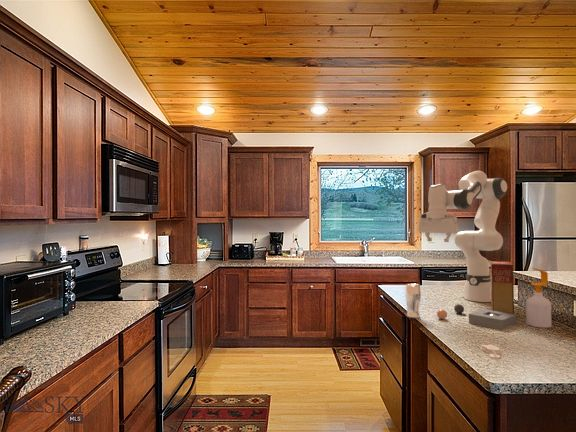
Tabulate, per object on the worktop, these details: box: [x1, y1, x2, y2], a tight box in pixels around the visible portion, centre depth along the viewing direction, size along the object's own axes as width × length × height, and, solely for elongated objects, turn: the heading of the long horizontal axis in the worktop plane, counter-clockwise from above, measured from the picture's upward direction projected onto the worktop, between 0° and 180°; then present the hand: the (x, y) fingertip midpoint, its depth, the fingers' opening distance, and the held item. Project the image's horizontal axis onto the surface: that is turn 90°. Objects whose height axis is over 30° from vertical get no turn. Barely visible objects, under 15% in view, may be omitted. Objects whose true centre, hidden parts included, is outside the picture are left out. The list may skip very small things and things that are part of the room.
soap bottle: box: [525, 267, 552, 329], centre depth 165 cm, size 9×9×25 cm
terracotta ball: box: [436, 308, 448, 320], centre depth 176 cm, size 4×4×4 cm
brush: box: [480, 344, 501, 360], centre depth 132 cm, size 9×9×2 cm
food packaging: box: [490, 260, 515, 314], centre depth 182 cm, size 13×9×25 cm
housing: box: [468, 308, 517, 331], centre depth 168 cm, size 14×14×4 cm
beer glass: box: [405, 283, 422, 319], centre depth 181 cm, size 7×7×15 cm
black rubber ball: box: [453, 303, 465, 314], centre depth 186 cm, size 4×4×4 cm
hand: (437, 241), depth 199 cm, fingers open, 8 cm apart
